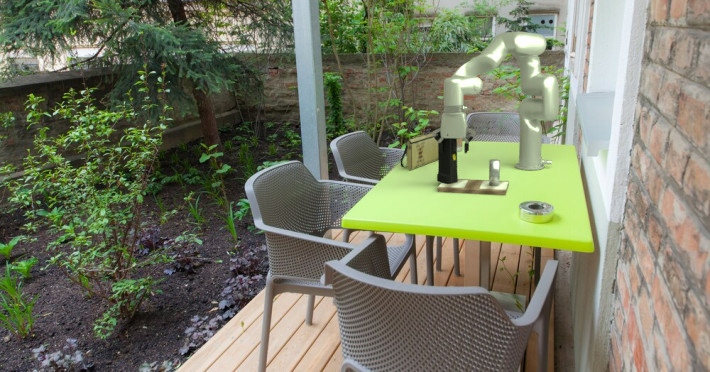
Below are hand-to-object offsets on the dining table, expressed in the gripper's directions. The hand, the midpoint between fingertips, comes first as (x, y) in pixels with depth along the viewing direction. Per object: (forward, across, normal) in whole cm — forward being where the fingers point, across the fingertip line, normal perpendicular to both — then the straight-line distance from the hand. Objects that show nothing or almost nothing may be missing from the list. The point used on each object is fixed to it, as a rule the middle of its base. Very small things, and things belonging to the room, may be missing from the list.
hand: (453, 152), depth 199 cm
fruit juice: (+15, +13, -76) cm, 78 cm away
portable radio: (+13, +2, -2) cm, 13 cm away
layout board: (+14, -8, 0) cm, 17 cm away
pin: (+13, -16, 0) cm, 20 cm away
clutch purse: (+15, +23, -38) cm, 47 cm away
